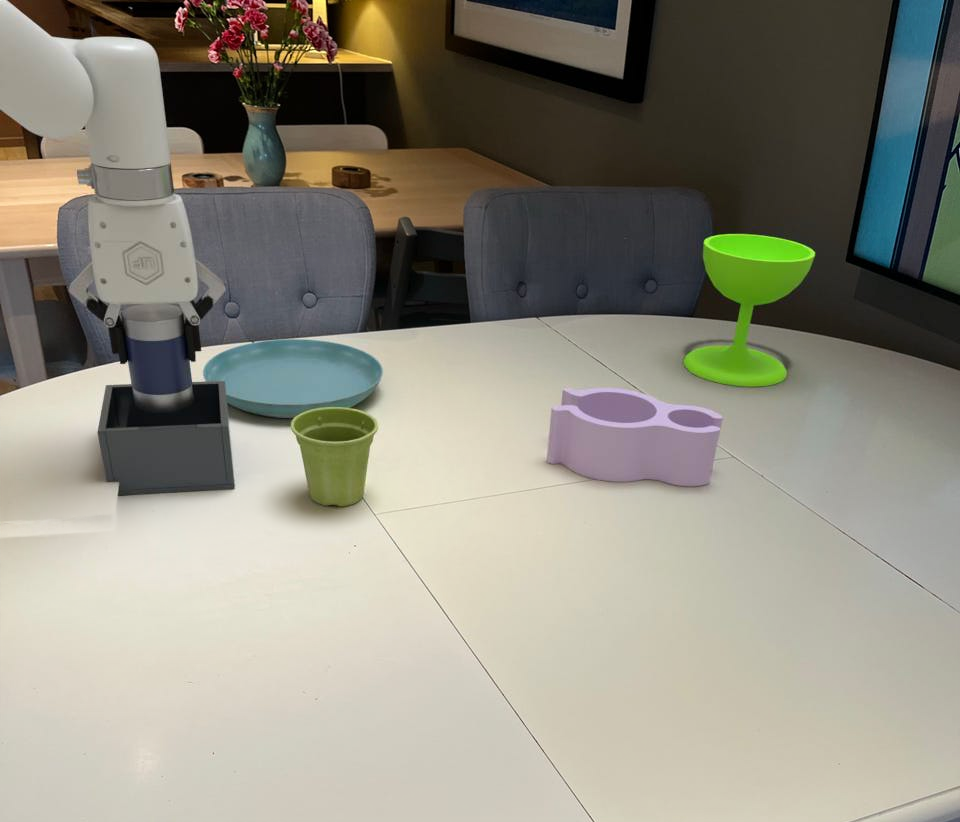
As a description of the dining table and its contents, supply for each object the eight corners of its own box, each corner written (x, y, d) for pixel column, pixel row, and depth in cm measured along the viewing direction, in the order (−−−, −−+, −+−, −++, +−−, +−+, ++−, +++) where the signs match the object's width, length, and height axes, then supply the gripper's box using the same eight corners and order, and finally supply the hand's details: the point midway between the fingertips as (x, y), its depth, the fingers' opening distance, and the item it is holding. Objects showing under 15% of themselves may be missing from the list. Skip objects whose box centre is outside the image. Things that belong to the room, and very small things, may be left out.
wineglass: (718, 390, 146) (743, 264, 135) (664, 354, 158) (683, 236, 147) (808, 381, 151) (838, 259, 140) (748, 347, 163) (772, 232, 152)
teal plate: (169, 388, 135) (166, 364, 134) (304, 349, 151) (303, 328, 149) (283, 442, 123) (282, 417, 121) (418, 394, 138) (419, 371, 136)
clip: (715, 456, 126) (725, 404, 122) (706, 497, 116) (717, 443, 112) (562, 431, 130) (567, 381, 126) (541, 470, 120) (546, 416, 116)
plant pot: (395, 496, 113) (396, 425, 108) (332, 523, 107) (329, 449, 102) (341, 470, 118) (338, 400, 113) (277, 494, 112) (272, 421, 107)
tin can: (133, 414, 108) (118, 322, 102) (135, 391, 113) (121, 303, 108) (194, 411, 110) (183, 321, 104) (194, 389, 115) (183, 302, 109)
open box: (108, 496, 109) (97, 431, 105) (116, 445, 120) (105, 384, 116) (234, 488, 112) (228, 425, 108) (230, 439, 123) (225, 380, 119)
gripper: (36, 190, 93) (71, 373, 104) (224, 191, 97) (240, 368, 108) (45, 174, 99) (78, 349, 110) (222, 175, 103) (238, 345, 113)
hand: (158, 357), depth 109 cm, fingers closed on tin can, 6 cm apart
